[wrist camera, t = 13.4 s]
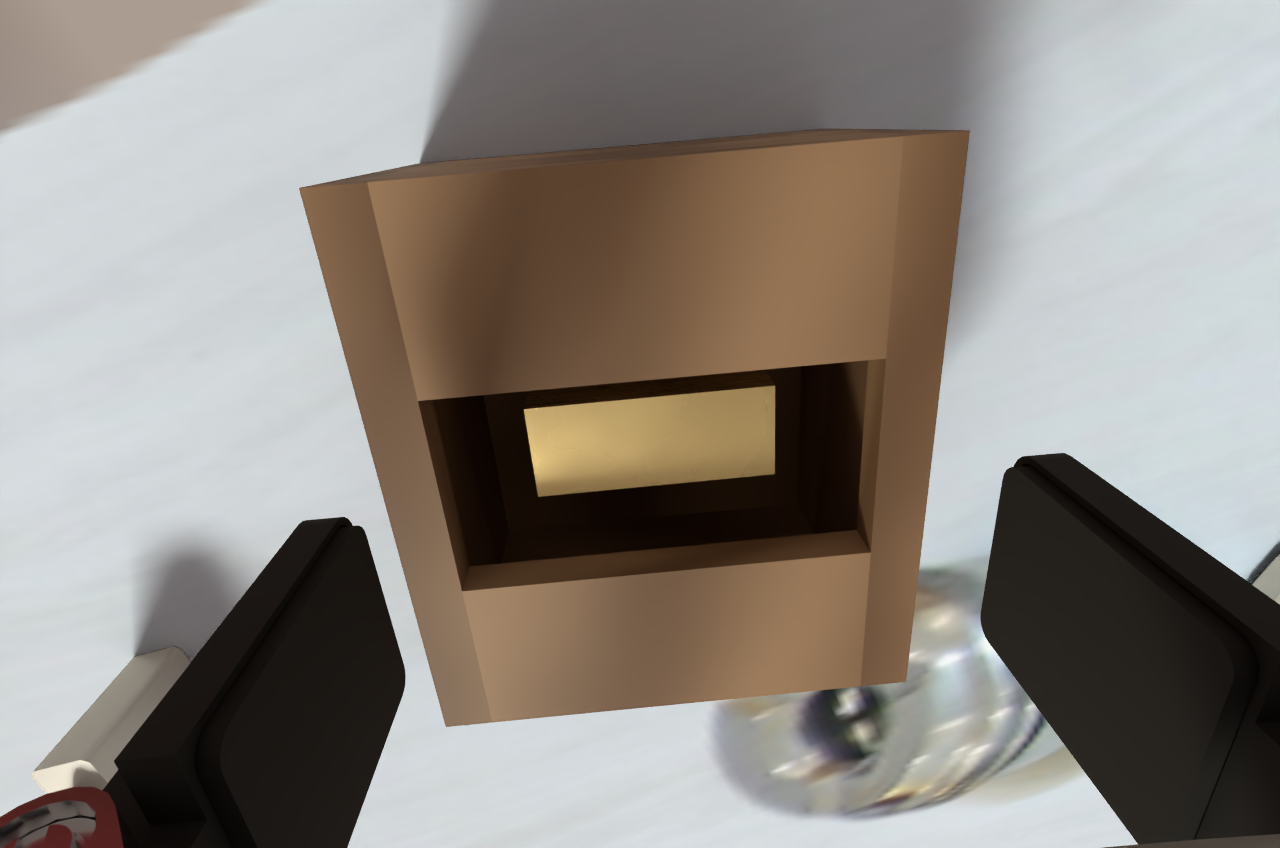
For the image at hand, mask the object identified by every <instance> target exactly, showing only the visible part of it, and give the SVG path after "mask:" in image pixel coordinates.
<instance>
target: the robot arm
mask: <svg viewBox="0 0 1280 848" xmlns="http://www.w3.org/2000/svg"><path fill="white" fill-rule="evenodd" d="M981 625H982V629H983V632H984V634H985V637H986V638H987V640H988V642H989V643H990V644H991V646H992V647H993V648H994V650H995V651H996V653H997V654H998V655H999V657H1000V658H1001V659H1002V661H1003V662H1004V663H1005V665H1006V666H1007V667H1008V669H1009V670H1010V671H1011V673H1012V674H1013V676H1014V677H1015V678H1016V680H1017V681H1018V682H1019V684H1020V685H1021V686H1022V688H1023V689H1024V690H1025V692H1026V693H1027V694H1028V696H1029V697H1030V699H1031V700H1032V701H1033V703H1034V704H1035V705H1036V707H1037V708H1038V709H1039V711H1040V712H1041V713H1042V715H1043V716H1044V717H1045V719H1046V720H1047V721H1048V723H1049V724H1050V726H1051V727H1052V728H1053V730H1054V731H1055V732H1056V734H1057V735H1058V736H1059V738H1060V739H1061V740H1062V742H1063V743H1064V744H1065V746H1066V747H1067V749H1068V750H1069V751H1070V753H1071V754H1072V755H1073V757H1074V758H1075V759H1076V761H1077V762H1078V763H1079V765H1080V766H1081V767H1082V769H1083V770H1084V772H1085V773H1086V774H1087V776H1088V777H1089V778H1090V780H1091V781H1092V782H1093V784H1094V785H1095V786H1096V788H1097V789H1098V790H1099V792H1100V793H1101V795H1102V796H1103V797H1104V799H1105V800H1106V801H1107V803H1108V804H1109V805H1110V807H1111V808H1112V809H1113V811H1114V812H1115V813H1116V815H1117V816H1118V817H1119V819H1120V820H1121V822H1122V823H1123V824H1124V826H1125V827H1126V828H1127V830H1128V831H1129V832H1130V834H1131V835H1132V836H1133V838H1134V839H1135V840H1136V842H1137V843H1138V845H1128V846H1117V847H1105V848H1280V554H1279V555H1278V556H1277V557H1276V558H1275V559H1274V560H1273V561H1272V562H1271V563H1270V564H1269V565H1268V567H1267V568H1266V569H1265V570H1264V571H1263V572H1262V573H1261V575H1260V576H1259V577H1258V578H1257V579H1256V580H1255V581H1254V583H1253V584H1250V583H1249V582H1247V581H1246V580H1245V579H1243V578H1242V577H1240V576H1239V575H1238V574H1236V573H1235V572H1233V571H1232V570H1231V569H1229V568H1228V567H1226V566H1225V565H1224V564H1222V563H1221V562H1219V561H1218V560H1216V559H1215V558H1214V557H1212V556H1211V555H1209V554H1208V553H1207V552H1205V551H1204V550H1202V549H1201V548H1200V547H1198V546H1197V545H1195V544H1194V543H1193V542H1191V541H1190V540H1188V539H1187V538H1185V537H1184V536H1183V535H1181V534H1180V533H1178V532H1177V531H1176V530H1174V529H1173V528H1171V527H1170V526H1169V525H1167V524H1166V523H1164V522H1163V521H1162V520H1160V519H1159V518H1157V517H1156V516H1154V515H1153V514H1152V513H1150V512H1149V511H1147V510H1146V509H1145V508H1143V507H1142V506H1140V505H1139V504H1138V503H1136V502H1135V501H1133V500H1132V499H1130V498H1129V497H1128V496H1126V495H1125V494H1123V493H1122V492H1121V491H1119V490H1118V489H1116V488H1115V487H1114V486H1112V485H1111V484H1109V483H1108V482H1107V481H1105V480H1104V479H1102V478H1101V477H1099V476H1098V475H1097V474H1095V473H1094V472H1092V471H1091V470H1090V469H1088V468H1087V467H1085V466H1084V465H1083V464H1081V463H1080V462H1078V461H1077V460H1076V459H1074V458H1073V457H1071V456H1069V455H1067V454H1065V453H1057V454H1046V455H1035V456H1024V457H1021V458H1019V459H1018V460H1017V462H1016V463H1015V465H1014V467H1011V468H1009V469H1007V470H1006V472H1005V473H1004V477H1003V481H1002V487H1001V493H1000V499H999V505H998V511H997V518H996V524H995V530H994V536H993V542H992V548H991V554H990V560H989V566H988V572H987V578H986V584H985V590H984V597H983V603H982V609H981ZM404 687H405V668H404V664H403V660H402V657H401V653H400V650H399V647H398V643H397V640H396V636H395V633H394V629H393V626H392V622H391V619H390V616H389V612H388V609H387V605H386V602H385V598H384V595H383V592H382V588H381V585H380V581H379V578H378V574H377V571H376V567H375V564H374V561H373V557H372V554H371V550H370V547H369V543H368V540H367V536H366V534H365V531H364V530H363V528H362V527H360V526H353V525H352V523H351V522H350V521H349V519H347V518H345V517H339V518H328V519H316V520H306V521H302V522H301V523H300V524H299V525H298V526H297V528H296V529H295V530H294V531H293V533H292V534H291V535H290V536H289V538H288V539H287V540H286V542H285V543H284V544H283V545H282V547H281V548H280V549H279V551H278V552H277V553H276V554H275V556H274V557H273V558H272V559H271V561H270V562H269V563H268V565H267V566H266V567H265V568H264V570H263V571H262V572H261V574H260V575H259V576H258V577H257V579H256V580H255V581H254V582H253V584H252V585H251V586H250V588H249V589H248V590H247V591H246V593H245V594H244V595H243V597H242V598H241V599H240V600H239V602H238V603H237V604H236V605H235V607H234V608H233V609H232V611H231V612H230V613H229V614H228V616H227V617H226V618H225V620H224V621H223V622H222V623H221V625H220V626H219V627H218V628H217V630H216V631H215V632H214V634H213V635H212V636H211V637H210V639H209V640H208V641H207V643H206V644H205V645H204V646H203V648H202V649H201V650H200V651H199V653H198V654H197V655H196V657H195V658H194V659H193V660H192V662H191V663H190V664H189V665H188V667H187V668H186V669H185V671H184V672H183V673H182V674H181V676H180V677H179V678H178V680H177V681H176V682H175V683H174V685H173V686H172V687H171V688H170V690H169V691H168V692H167V694H166V695H165V696H164V697H163V699H162V700H161V701H160V703H159V704H158V705H157V706H156V708H155V709H154V710H153V711H152V713H151V714H150V715H149V717H148V718H147V719H146V720H145V722H144V723H143V724H142V726H141V727H140V728H139V729H138V731H137V732H136V733H135V734H134V736H133V737H132V738H131V740H130V741H129V742H128V743H127V745H126V746H125V747H124V749H123V750H122V751H121V752H120V754H119V755H118V756H117V757H116V759H115V760H114V763H115V765H116V766H117V768H118V771H117V772H116V773H115V775H114V776H113V777H112V779H111V780H110V781H109V782H108V784H107V785H106V786H105V788H104V789H103V790H100V789H98V788H95V787H71V788H67V789H63V790H59V791H56V792H52V793H48V794H45V795H43V796H41V797H38V798H36V799H34V800H31V801H29V802H27V803H25V804H22V805H20V806H18V807H16V808H15V809H13V810H11V811H10V812H8V813H6V814H5V815H3V816H1V817H0V848H347V846H348V844H349V841H350V838H351V835H352V833H353V830H354V827H355V824H356V822H357V819H358V816H359V813H360V811H361V808H362V805H363V802H364V800H365V797H366V794H367V791H368V789H369V786H370V783H371V780H372V778H373V775H374V772H375V770H376V767H377V764H378V761H379V759H380V756H381V753H382V750H383V748H384V745H385V742H386V739H387V737H388V734H389V731H390V728H391V726H392V723H393V720H394V717H395V715H396V712H397V709H398V706H399V704H400V701H401V698H402V695H403V692H404Z"/></svg>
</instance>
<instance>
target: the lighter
mask: <svg viewBox="0 0 1280 848" xmlns="http://www.w3.org/2000/svg"><path fill="white" fill-rule="evenodd" d="M190 663H191V662H190V660H189V659H188V658H187V656H186V655H185V653H184V652H183V651H182V649H180V648H177V647H170V648H166V649H162V650H158V651H154V652H150V653H146V654H143V655H139V656H135V657H134V658H133V659H132V660H131V661H130V662H129V663H128V665H127V666H126V667H125V668H124V669H123V670H122V671H121V673H120V674H119V675H118V676H117V677H116V678H115V679H114V681H113V682H112V683H111V684H110V685H109V686H108V687H107V688H106V690H105V691H104V692H103V693H102V694H101V695H100V696H99V698H98V699H97V700H96V701H95V702H94V703H93V704H92V705H91V707H90V708H89V709H88V710H87V711H86V712H85V713H84V715H83V716H82V717H81V718H80V719H79V720H78V721H77V723H76V724H75V725H74V726H73V727H72V728H71V729H70V730H69V732H68V733H67V734H66V735H65V736H64V737H63V738H62V740H61V741H60V742H59V743H58V744H57V745H56V746H55V747H54V749H53V750H52V751H51V752H50V753H49V754H48V755H47V757H46V758H45V759H44V760H43V761H42V762H41V763H40V765H39V766H38V767H37V768H36V769H35V770H34V771H33V774H32V777H31V778H32V779H33V780H34V781H35V782H36V783H37V784H38V785H39V786H40V787H41V788H42V789H43V790H44V791H45V792H46V793H47V794H48V793H52V792H56V791H59V790H63V789H67V788H71V787H95V788H98V789H100V790H103V789H104V788H105V786H106V785H107V784H108V782H109V781H110V780H111V779H112V777H113V776H114V775H115V773H116V772H117V771H118V768H117V766H116V765H115V763H114V760H115V759H116V757H117V756H118V755H119V754H120V752H121V751H122V750H123V749H124V747H125V746H126V745H127V743H128V742H129V741H130V740H131V738H132V737H133V736H134V734H135V733H136V732H137V731H138V729H139V728H140V727H141V726H142V724H143V723H144V722H145V720H146V719H147V718H148V717H149V715H150V714H151V713H152V711H153V710H154V709H155V708H156V706H157V705H158V704H159V703H160V701H161V700H162V699H163V697H164V696H165V695H166V694H167V692H168V691H169V690H170V688H171V687H172V686H173V685H174V683H175V682H176V681H177V680H178V678H179V677H180V676H181V674H182V673H183V672H184V671H185V669H186V668H187V667H188V665H189V664H190Z"/></svg>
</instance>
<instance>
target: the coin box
mask: <svg viewBox="0 0 1280 848" xmlns="http://www.w3.org/2000/svg"><path fill="white" fill-rule="evenodd" d="M969 132H970V131H967V130H887V129H818V130H806V131H794V132H782V133H771V134H759V135H747V136H736V137H724V138H712V139H701V140H689V141H677V142H665V143H654V144H642V145H630V146H619V147H607V148H595V149H584V150H572V151H560V152H548V153H537V154H525V155H513V156H502V157H490V158H478V159H467V160H455V161H443V162H432V163H420V164H414V165H409V166H404V167H400V168H395V169H390V170H385V171H380V172H375V173H370V174H365V175H361V176H356V177H351V178H346V179H341V180H336V181H331V182H326V183H321V184H317V185H312V186H307V187H302V188H299V190H300V193H301V197H302V201H303V204H304V208H305V212H306V215H307V219H308V223H309V226H310V230H311V234H312V237H313V241H314V245H315V248H316V252H317V256H318V259H319V263H320V267H321V270H322V274H323V278H324V281H325V285H326V289H327V292H328V296H329V300H330V303H331V307H332V311H333V314H334V318H335V322H336V325H337V329H338V333H339V336H340V340H341V344H342V347H343V351H344V355H345V358H346V362H347V366H348V369H349V373H350V377H351V380H352V384H353V388H354V391H355V395H356V399H357V402H358V406H359V410H360V413H361V417H362V421H363V424H364V428H365V432H366V435H367V439H368V443H369V446H370V450H371V454H372V457H373V461H374V465H375V468H376V472H377V476H378V479H379V483H380V487H381V490H382V494H383V498H384V501H385V505H386V509H387V512H388V516H389V520H390V523H391V527H392V531H393V534H394V538H395V542H396V545H397V549H398V553H399V556H400V560H401V564H402V567H403V571H404V575H405V578H406V582H407V586H408V589H409V593H410V597H411V600H412V604H413V608H414V611H415V615H416V619H417V622H418V626H419V630H420V633H421V637H422V641H423V644H424V648H425V652H426V655H427V659H428V663H429V666H430V670H431V674H432V678H433V681H434V685H435V689H436V692H437V696H438V700H439V703H440V707H441V711H442V714H443V718H444V722H445V725H446V727H450V726H460V725H470V724H480V723H490V722H501V721H511V720H521V719H531V718H541V717H551V716H562V715H572V714H582V713H592V712H602V711H613V710H623V709H633V708H643V707H653V706H664V705H674V704H684V703H694V702H704V701H715V700H725V699H735V698H745V697H755V696H765V695H776V694H786V693H796V692H806V691H816V690H827V689H837V688H847V687H857V686H867V685H878V684H888V683H898V682H906V677H907V668H908V660H909V651H910V642H911V634H912V625H913V616H914V608H915V599H916V590H917V582H918V573H919V564H920V556H921V547H922V539H923V530H924V521H925V513H926V504H927V495H928V487H929V478H930V469H931V461H932V452H933V443H934V435H935V426H936V417H937V409H938V400H939V391H940V383H941V374H942V365H943V357H944V348H945V340H946V331H947V322H948V314H949V305H950V296H951V288H952V279H953V270H954V262H955V253H956V244H957V236H958V227H959V218H960V210H961V201H962V192H963V184H964V175H965V166H966V158H967V149H968V141H969ZM754 370H765V371H766V373H767V374H768V376H769V377H770V379H771V380H772V382H773V383H774V385H775V474H770V475H760V476H750V477H739V478H729V479H718V480H708V481H697V482H687V483H676V484H666V485H656V486H645V487H635V488H624V489H614V490H603V491H593V492H583V493H572V494H562V495H551V496H541V497H538V493H537V487H536V481H535V475H534V468H533V462H532V456H531V450H530V444H529V438H528V432H527V426H526V420H525V414H524V406H525V403H526V399H527V396H528V392H529V391H534V390H545V389H556V388H567V387H578V386H589V385H600V384H611V383H622V382H633V381H644V380H655V379H666V378H677V377H688V376H699V375H710V374H721V373H732V372H743V371H754Z"/></svg>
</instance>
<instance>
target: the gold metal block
mask: <svg viewBox="0 0 1280 848" xmlns="http://www.w3.org/2000/svg"><path fill="white" fill-rule="evenodd" d="M524 414H525V420H526V426H527V432H528V438H529V444H530V450H531V456H532V462H533V468H534V475H535V481H536V487H537V493H538V497H541V496H551V495H562V494H572V493H583V492H593V491H603V490H614V489H624V488H635V487H645V486H656V485H666V484H676V483H687V482H697V481H708V480H718V479H729V478H739V477H750V476H760V475H770V474H775V385H774V383H773V382H772V380H771V379H770V377H769V376H768V374H767V373H766V371H765V370H754V371H743V372H732V373H721V374H710V375H699V376H688V377H677V378H666V379H655V380H644V381H633V382H622V383H611V384H600V385H589V386H578V387H567V388H556V389H545V390H534V391H529V392H528V396H527V399H526V403H525V406H524Z"/></svg>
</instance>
